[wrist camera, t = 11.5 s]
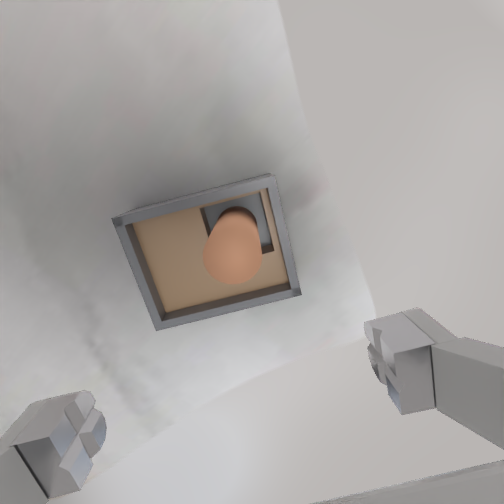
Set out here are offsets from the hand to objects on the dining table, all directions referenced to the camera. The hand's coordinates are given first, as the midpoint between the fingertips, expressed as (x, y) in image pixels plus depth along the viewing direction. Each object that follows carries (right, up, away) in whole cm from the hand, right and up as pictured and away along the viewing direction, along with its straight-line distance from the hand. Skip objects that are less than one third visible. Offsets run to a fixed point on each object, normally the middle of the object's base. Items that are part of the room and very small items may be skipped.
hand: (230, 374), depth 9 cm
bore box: (-3, +4, +22) cm, 23 cm away
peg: (-1, +6, +21) cm, 22 cm away
